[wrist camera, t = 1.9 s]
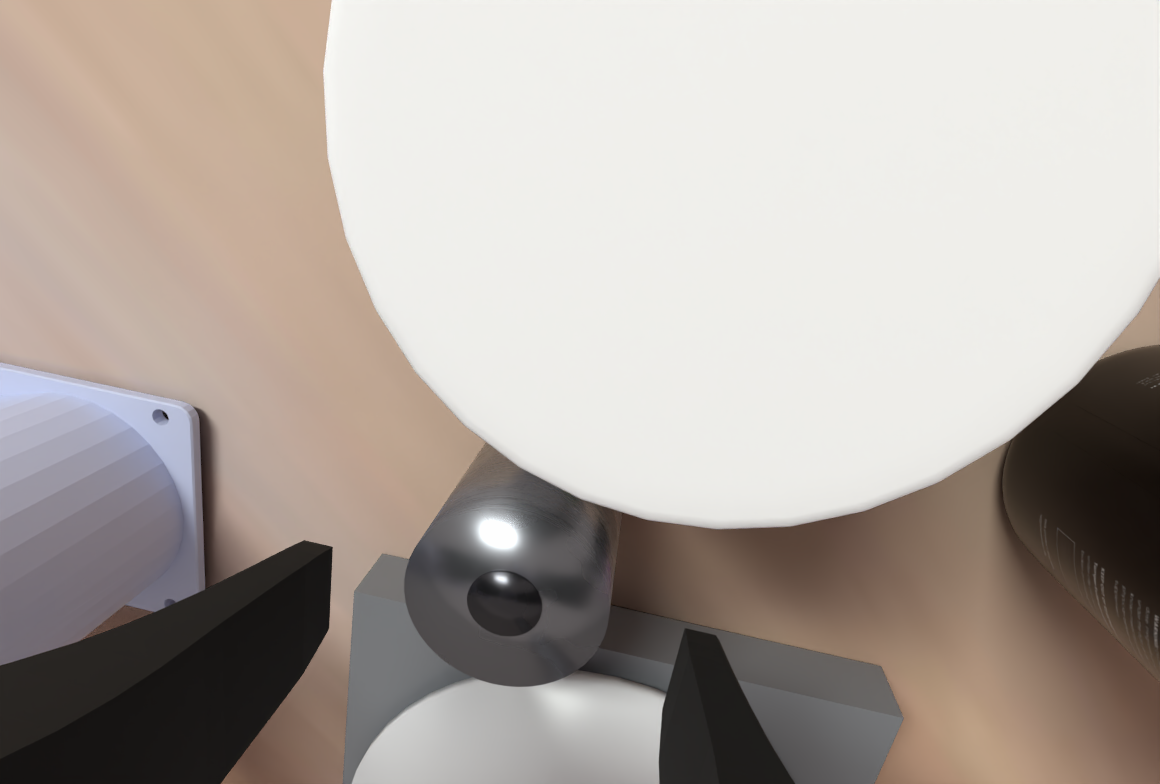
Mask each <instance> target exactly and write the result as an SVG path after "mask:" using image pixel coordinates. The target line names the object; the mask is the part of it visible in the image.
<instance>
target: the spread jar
mask: <svg viewBox="0 0 1160 784" xmlns="http://www.w3.org/2000/svg"><path fill="white" fill-rule="evenodd" d="M323 75H324V94H325V114H326V133H327V153H328V161H329V166H330V170H331V174H332V179H333V183H334V188H335V192H336V197H337V201H338V206H339V210H340V215H341V219H342V223H343V228H344V232H345V237H346V240H347V242H348V244H349V247H350V249H351V252H352V254H353V256H354V259H355V261H356V264H357V266H358V268H359V271H360V273H361V276H362V278H363V280H364V283H365V285H366V288H367V290H368V293H369V295H370V297H371V300H372V302H373V305H374V307H375V309H376V311H377V313H378V314H379V316H380V317H381V319H382V320H383V322H384V324H385V325H386V327H387V328H388V330H389V331H390V333H391V335H392V336H393V338H394V339H395V341H396V342H397V344H398V346H399V347H400V349H401V350H402V352H403V353H404V355H405V357H406V358H407V360H408V361H409V363H410V364H411V366H412V368H413V369H414V371H415V372H416V373H417V374H418V376H419V377H420V378H421V379H422V380H423V381H424V382H425V383H426V384H427V385H428V386H429V388H430V389H431V390H432V391H433V392H434V393H435V394H436V395H437V396H438V397H439V398H440V400H441V401H442V402H443V403H444V404H445V405H446V406H447V407H448V408H449V409H450V410H451V412H452V413H453V414H454V415H455V416H456V417H457V418H458V419H459V420H460V421H461V422H462V424H463V425H465V426H466V427H467V428H468V429H470V430H471V431H472V432H474V433H475V434H476V435H478V436H479V437H480V438H482V439H483V440H484V441H485V442H487V443H488V444H489V445H491V446H492V447H493V448H495V449H496V450H497V451H498V452H500V453H501V454H502V455H504V456H505V457H506V458H508V459H509V460H510V461H511V462H513V463H514V464H515V465H517V466H518V467H519V468H521V469H523V470H525V471H527V472H529V473H531V474H533V475H535V476H537V477H539V478H541V479H542V480H544V481H546V482H548V483H550V484H552V485H554V486H556V487H558V488H560V489H562V490H564V491H566V492H568V493H570V494H571V495H573V496H575V497H577V498H579V499H581V500H585V501H588V502H591V503H594V504H597V505H600V506H604V507H607V508H610V509H613V510H616V511H619V512H623V513H626V514H629V515H632V516H635V517H638V518H642V519H645V520H649V521H657V522H664V523H672V524H680V525H687V526H695V527H702V528H710V529H744V528H771V527H791V526H796V525H801V524H806V523H811V522H815V521H820V520H825V519H830V518H835V517H840V516H844V515H849V514H854V513H859V512H864V511H866V510H869V509H871V508H874V507H877V506H879V505H882V504H884V503H887V502H890V501H892V500H895V499H897V498H900V497H903V496H905V495H908V494H910V493H913V492H916V491H918V490H921V489H923V488H926V487H929V486H931V485H934V484H936V483H939V482H940V481H942V480H944V479H945V478H947V477H949V476H950V475H952V474H954V473H956V472H957V471H959V470H961V469H962V468H964V467H966V466H967V465H969V464H971V463H973V462H974V461H976V460H978V459H979V458H981V457H983V456H984V455H986V454H988V453H990V452H991V451H993V450H995V449H996V448H998V447H1000V446H1001V445H1003V444H1005V443H1007V442H1008V441H1010V440H1011V439H1012V438H1013V437H1015V436H1016V435H1017V434H1018V433H1020V432H1021V431H1022V430H1023V429H1024V428H1026V427H1027V426H1028V425H1029V424H1030V423H1032V422H1033V421H1034V420H1035V419H1036V418H1038V417H1039V416H1040V415H1041V414H1042V413H1044V412H1045V411H1046V410H1047V409H1048V408H1050V407H1051V406H1052V405H1053V404H1054V403H1056V402H1057V401H1058V400H1059V399H1060V398H1062V397H1063V396H1064V395H1065V394H1066V393H1068V392H1069V391H1070V390H1071V389H1072V388H1074V387H1075V386H1076V385H1077V384H1078V383H1079V382H1080V381H1081V380H1082V379H1083V377H1084V376H1085V375H1086V374H1087V373H1088V372H1089V370H1090V369H1091V368H1092V367H1093V366H1094V365H1095V363H1096V362H1097V361H1098V360H1099V359H1100V358H1101V356H1102V355H1103V354H1104V353H1105V352H1106V351H1107V349H1108V348H1109V347H1110V346H1111V345H1112V344H1113V342H1114V341H1115V340H1116V339H1117V338H1118V337H1119V336H1120V334H1121V333H1122V332H1123V331H1124V330H1125V329H1126V327H1127V326H1128V325H1129V324H1130V323H1131V322H1132V320H1133V319H1134V318H1135V317H1136V316H1137V315H1138V313H1139V312H1140V310H1141V308H1142V307H1143V305H1144V303H1145V302H1146V300H1147V298H1148V297H1149V295H1150V294H1151V292H1152V290H1153V289H1154V287H1155V285H1156V284H1157V282H1158V280H1159V279H1160V0H332V4H331V12H330V20H329V28H328V36H327V45H326V53H325V61H324V69H323Z"/></svg>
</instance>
